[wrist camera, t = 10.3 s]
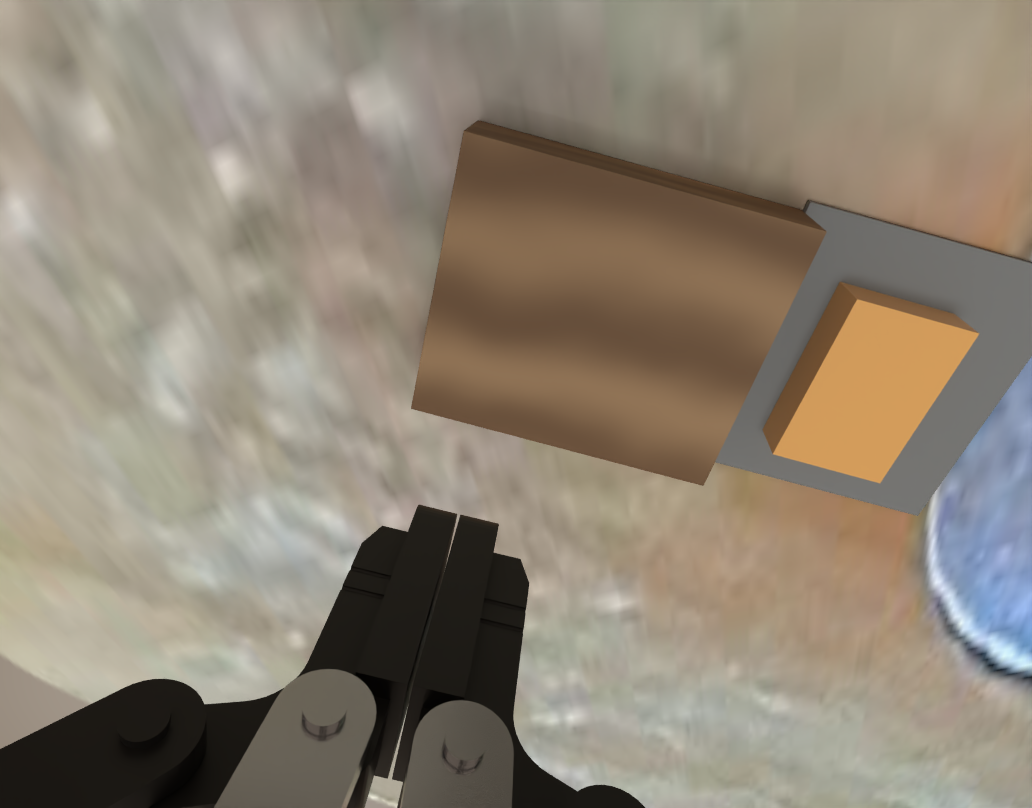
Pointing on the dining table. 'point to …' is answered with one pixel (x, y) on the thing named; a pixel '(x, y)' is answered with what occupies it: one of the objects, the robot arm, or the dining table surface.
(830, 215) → the mat
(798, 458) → the orange rectangular block
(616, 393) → the wooden block
